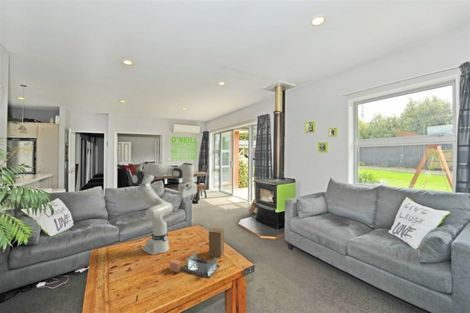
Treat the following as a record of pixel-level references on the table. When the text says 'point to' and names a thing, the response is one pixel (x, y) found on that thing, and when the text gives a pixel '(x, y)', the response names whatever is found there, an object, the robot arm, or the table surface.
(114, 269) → the table surface
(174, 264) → the rust block
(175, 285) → the table surface
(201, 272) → the vise base
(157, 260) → the table surface
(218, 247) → the wooden block
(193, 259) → the sliding jaw
